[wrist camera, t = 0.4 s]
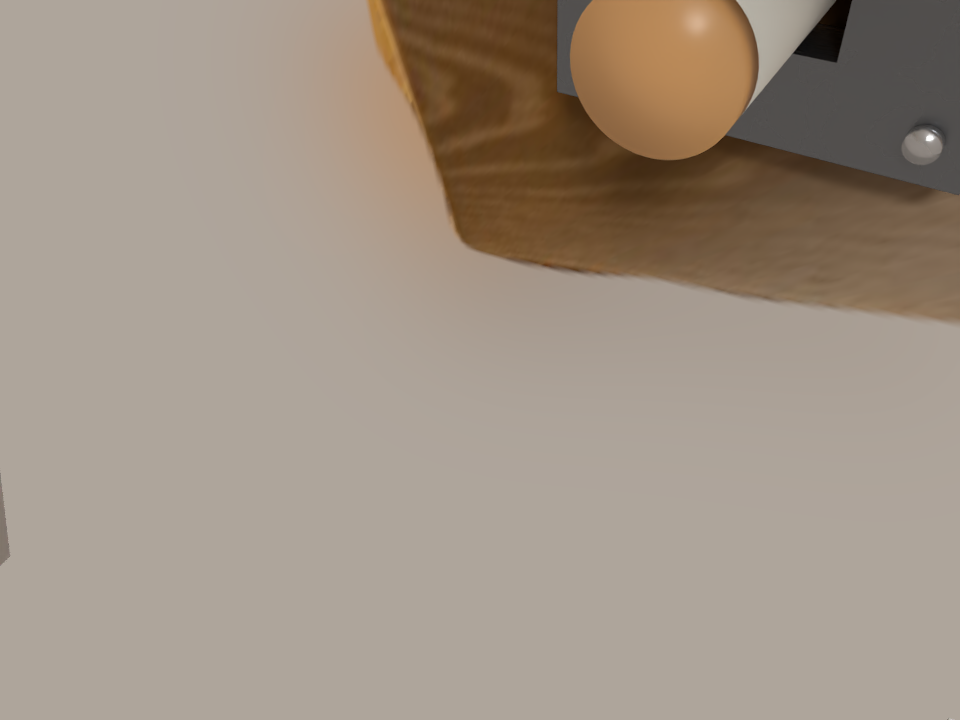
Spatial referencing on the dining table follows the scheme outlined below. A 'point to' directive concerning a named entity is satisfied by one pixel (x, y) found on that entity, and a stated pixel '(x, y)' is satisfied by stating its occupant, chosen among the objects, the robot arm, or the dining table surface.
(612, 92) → the white capped post
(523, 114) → the dining table surface
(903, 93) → the plate
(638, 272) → the dining table surface
